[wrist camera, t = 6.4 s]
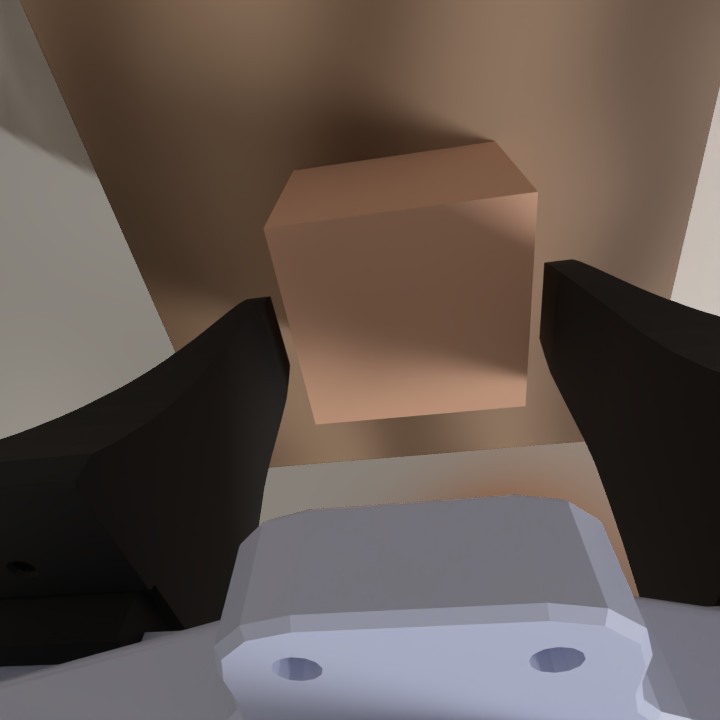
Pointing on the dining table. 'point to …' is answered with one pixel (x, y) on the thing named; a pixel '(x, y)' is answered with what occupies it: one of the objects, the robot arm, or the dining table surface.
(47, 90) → the dining table surface
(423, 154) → the terracotta block
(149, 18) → the walnut base
